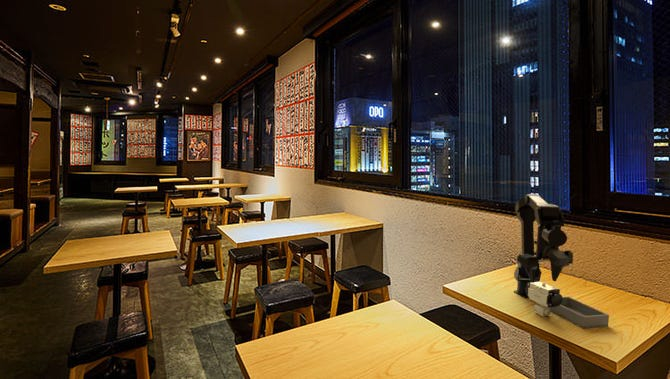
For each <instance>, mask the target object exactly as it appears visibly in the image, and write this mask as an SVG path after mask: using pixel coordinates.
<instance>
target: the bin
mask: <svg viewBox="0 0 670 379" xmlns="http://www.w3.org/2000/svg"><path fill="white" fill-rule="evenodd" d="M562 297H563V301H562V303H561V304H560V305H559V306H557V307H551V308H550V309H549V310H550V311H551V313H554V314H555V315H557V316H559V317H560V318H563V319H565V320H566V321H568V322H570V323H572V324H574V325H576V326H577V327H580V328H581V329H593V328H595V329H596V328H603V326H605V327H609V320H610V318H609V317H610V315H609V314H608V313H606V312H603V311H602V310H599V309H597V308H595V307H593V306H591V305H588V304H587V303H583V302H582V301H579V300H576V298H572V297H570V296H562Z"/></svg>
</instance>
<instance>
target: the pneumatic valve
mask: <svg viewBox="0 0 670 379" xmlns="http://www.w3.org/2000/svg"><path fill="white" fill-rule="evenodd" d="M525 291H526V293H527V296H528V297H527V299H529V300H530V301H534V302H536V304H534V306H533V309H534V313H535V314H536V315H538V316H540V317H543V318H544V317H548V316H549V317H551V314H552V312H551V311H550V310H549V309H550V308H551V307H557V306H559V305H560V304H561V303H562V301H563V297H564V296H563V295H562V294H561V290H560V288H557V287H555V286H552V285H549V284H547V283H546V282H541V281H535V282H534V283H532V282H529V283H528V284H527V285H526V288H525Z"/></svg>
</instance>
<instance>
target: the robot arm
mask: <svg viewBox="0 0 670 379" xmlns="http://www.w3.org/2000/svg"><path fill="white" fill-rule="evenodd" d="M514 210H515V213H516V217H517V219H518V220H519V222H520V224H521V226H520V228H521V229H520V230H521V231H520V232H521V237H520V238H521V253H519V254H518V255H517V258H516V262H517V266H516V268H515V270H514V272H513V278H514V279H515V280H516V281H517V285H516V286H517V287H516V289H517V290H513V293H515V294H518V295H519V296H520V297H522V298H528V296H527V293H526V291H525V288H526V285H527V284H528V283H529V282H532V283H534V282H535V281H539V282H541V277H542V270H541V268H540V263H539V262H549V263H550V271H551V279H552V282H556V281H557V279H558V278H559V275H560V274H561V272H562V270H563V269H564V268H566V267H568V266H570V265H571V264H573V263H574V255H573V254H574V253H573V251H572V250H561V249H559V247H562V246H563V245H565V244H566V243H567V240H568V236H567V233H565V231H563V230H562V227H565V223H566V221H565V217H564V214H563V211H562V209H561V208H560V207H559V205H556V204H552V203H548V202H547V201H546V200H544V199H543V198H542V197H541V195H540V194H531V193H528V194H525V195H524V197H522V198H521V199H519V200H517V202H516V204H515V207H514ZM535 220H536V221H535ZM534 222H536V223H537V230H536V231H537V233H536V237H537V238H536V240H535V238H534V237H535V233H534V232H535V228H534V227H535V226H534ZM535 246H536V249H535Z"/></svg>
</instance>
